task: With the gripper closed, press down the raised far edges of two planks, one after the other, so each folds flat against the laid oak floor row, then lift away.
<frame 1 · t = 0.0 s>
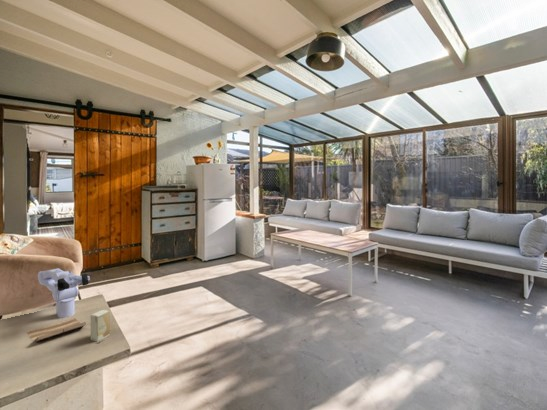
hand: (78, 284, 133), 22 cm above the table, tool horizontal, fingers open, 7 cm apart
plank 1: (49, 335, 123), point 2 cm above the table, hinge at 30.0°
skincare box: (100, 340, 126), on the table
laid oak row: (55, 330, 132), on the table
plank 2: (72, 328, 130), point 2 cm above the table, hinge at 30.0°
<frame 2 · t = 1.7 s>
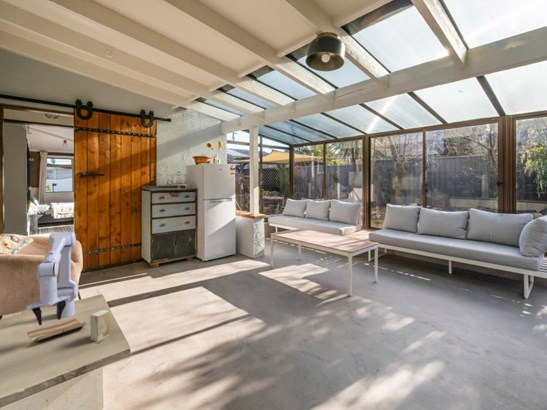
hand: (49, 321, 122), 9 cm above the table, tool pointing down, fingers open, 6 cm apart
nothing on the table moved.
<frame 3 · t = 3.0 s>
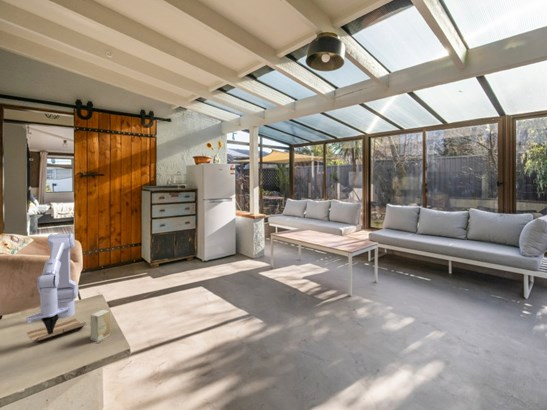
hand: (50, 333, 122), 4 cm above the table, tool pointing down, fingers closed, pressing on plank 1
plank 1: (49, 335, 123), point 2 cm above the table, hinge at 28.8°, touching gripper
everything else where it was.
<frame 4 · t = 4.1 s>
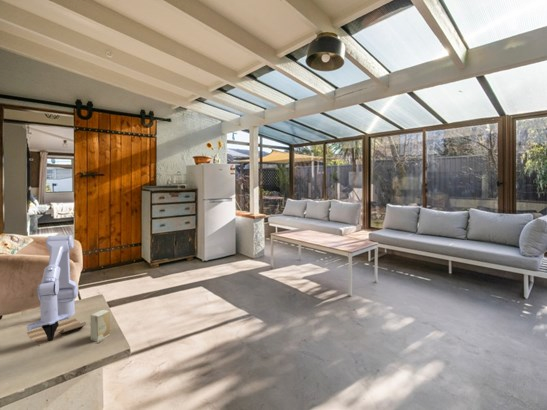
hand: (50, 340, 122), 1 cm above the table, tool pointing down, fingers closed, pressing on plank 1
plank 1: (49, 339, 123), point 1 cm above the table, hinge at 0.6°, touching gripper
everything else where it was.
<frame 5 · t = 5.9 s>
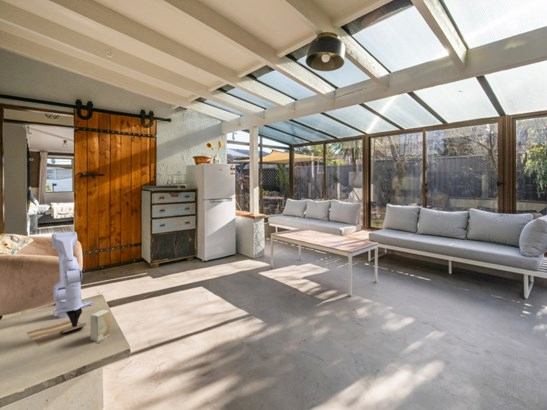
hand: (74, 325, 129), 4 cm above the table, tool pointing down, fingers closed, pressing on plank 2
plank 1: (49, 339, 123), point 1 cm above the table, hinge at 0.4°
plank 2: (72, 328, 130), point 2 cm above the table, hinge at 27.5°, touching gripper
everything else where it was.
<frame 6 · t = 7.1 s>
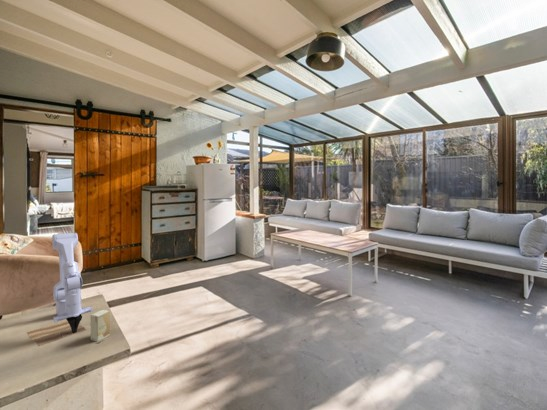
hand: (74, 331, 129), 1 cm above the table, tool pointing down, fingers closed
plank 2: (73, 332, 130), point 1 cm above the table, hinge at 0.1°
everything else where it was.
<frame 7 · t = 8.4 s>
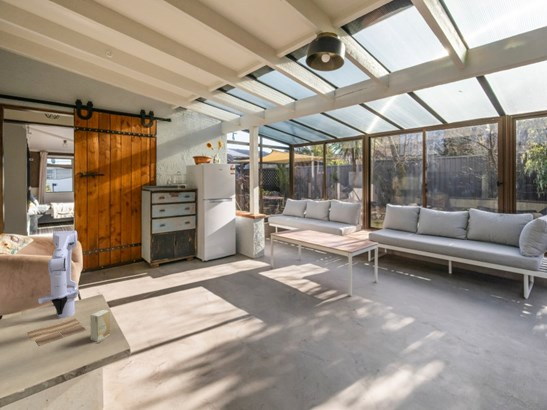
hand: (59, 313, 129), 9 cm above the table, tool pointing down, fingers closed
plank 2: (73, 332, 130), point 1 cm above the table, hinge at 0.0°
everything else where it was.
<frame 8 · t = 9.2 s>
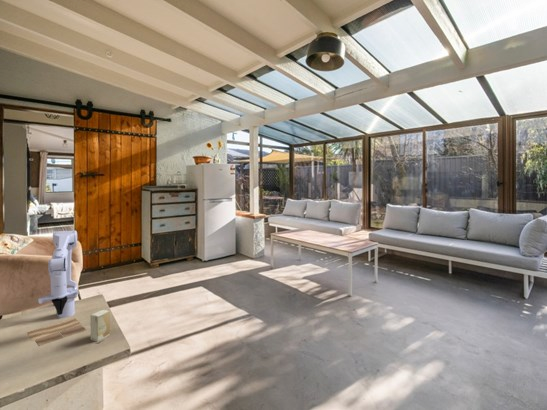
hand: (59, 313, 129), 9 cm above the table, tool pointing down, fingers closed
nothing on the table moved.
at the end: plank 1 at +0° (first picture: +30°); plank 2 at +0° (first picture: +30°) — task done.
